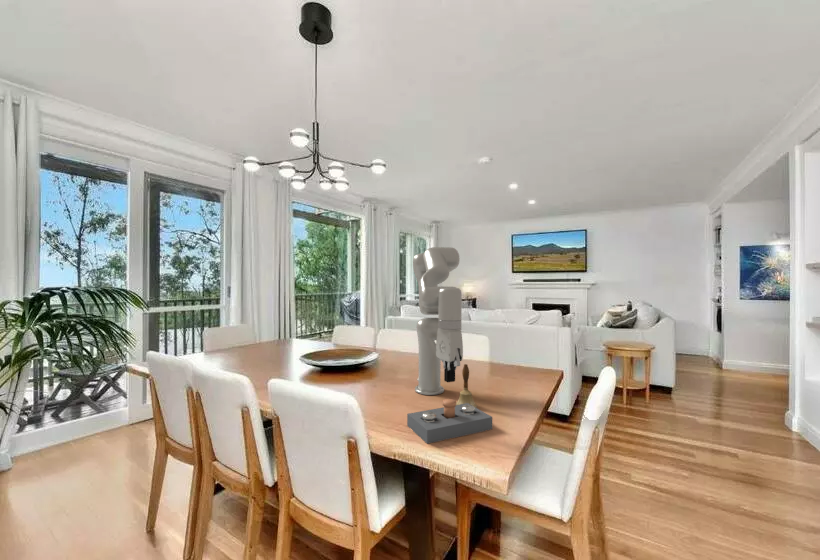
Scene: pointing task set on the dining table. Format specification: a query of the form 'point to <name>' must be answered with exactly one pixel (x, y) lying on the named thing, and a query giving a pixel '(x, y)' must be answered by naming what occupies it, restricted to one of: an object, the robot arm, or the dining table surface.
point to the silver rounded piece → (468, 409)
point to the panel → (448, 424)
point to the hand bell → (466, 389)
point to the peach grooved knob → (449, 408)
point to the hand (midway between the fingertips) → (449, 381)
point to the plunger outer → (429, 416)
